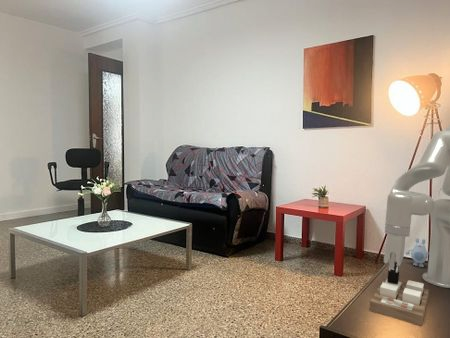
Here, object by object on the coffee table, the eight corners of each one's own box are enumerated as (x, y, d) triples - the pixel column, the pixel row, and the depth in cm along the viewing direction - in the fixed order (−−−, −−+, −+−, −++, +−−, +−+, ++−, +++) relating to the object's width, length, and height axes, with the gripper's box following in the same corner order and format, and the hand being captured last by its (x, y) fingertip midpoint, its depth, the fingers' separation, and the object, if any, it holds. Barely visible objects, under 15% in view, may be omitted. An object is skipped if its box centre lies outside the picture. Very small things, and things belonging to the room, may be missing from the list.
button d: (404, 296, 109) (404, 287, 109) (420, 300, 106) (421, 291, 106) (402, 301, 105) (402, 292, 105) (419, 305, 103) (419, 297, 102)
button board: (383, 286, 122) (383, 277, 122) (428, 298, 114) (428, 288, 114) (369, 310, 104) (370, 299, 104) (421, 325, 96) (422, 314, 96)
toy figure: (403, 265, 146) (405, 237, 145) (405, 261, 151) (407, 234, 150) (432, 271, 140) (434, 242, 139) (433, 266, 145) (435, 239, 144)
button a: (386, 286, 119) (387, 278, 119) (400, 289, 117) (401, 282, 116) (383, 290, 116) (384, 282, 115) (398, 294, 113) (399, 286, 113)
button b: (407, 287, 115) (408, 279, 115) (423, 291, 113) (423, 283, 113) (405, 292, 112) (406, 284, 111) (421, 296, 109) (422, 288, 109)
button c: (382, 290, 113) (382, 282, 112) (397, 294, 110) (398, 286, 110) (379, 295, 109) (380, 286, 109) (395, 299, 106) (396, 290, 106)
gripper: (389, 224, 123) (384, 273, 124) (380, 232, 110) (376, 286, 112) (412, 227, 118) (408, 278, 120) (406, 236, 106) (401, 293, 108)
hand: (392, 282), depth 116 cm, fingers closed
